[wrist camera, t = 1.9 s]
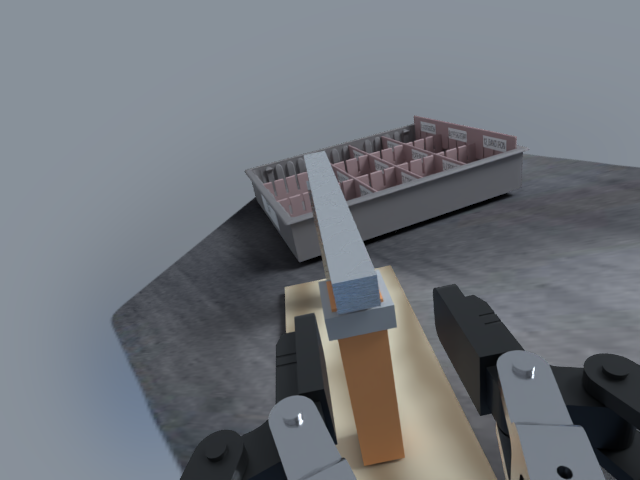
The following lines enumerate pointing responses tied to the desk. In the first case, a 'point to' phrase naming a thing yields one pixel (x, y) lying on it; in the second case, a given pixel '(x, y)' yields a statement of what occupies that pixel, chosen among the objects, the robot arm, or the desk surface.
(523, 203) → the desk surface
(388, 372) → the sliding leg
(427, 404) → the board
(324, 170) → the bar
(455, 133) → the organizer tray
